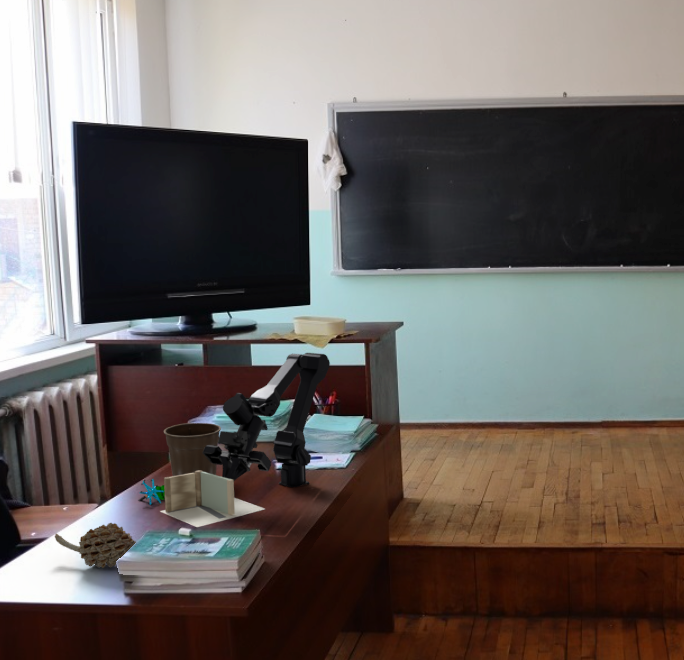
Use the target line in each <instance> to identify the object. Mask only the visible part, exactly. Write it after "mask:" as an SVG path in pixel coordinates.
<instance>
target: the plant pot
mask: <svg viewBox="0 0 684 660" xmlns="http://www.w3.org/2000/svg"><path fill="white" fill-rule="evenodd" d="M220 431H222V427H221V426H220V425H219V424H214V423H208V422H189V423H188V422H187V423H180V424H175V425H172V426H169V427H166V428H165V429H164V430H163V434H164V435H165V439H166V445H167V446H168V452H169V460H170V467H171V473H172V476H178V475H183V474H189V473H195V471H198V470H201V471H203V472H206V473H210V474H213V475H217V466H218V465H216V464H212V463H211V462H210V461H209V460H208V459H207V458H206V457H205V455H204V454H203V453H202V452H203V450H204V448H205V447H206V446H207V445H212V446H218V444H219V443H218V440H219V436H220ZM195 488H196V486H195Z"/></svg>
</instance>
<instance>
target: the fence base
mask: <svg viewBox="0 0 684 660" xmlns="http://www.w3.org/2000/svg"><path fill="white" fill-rule="evenodd" d="M201 472H203V471H201V470H198V471H195V473H189V474H183V475H178V476H173V475H172V476H166V477H163V485H164V489H165V499H164V506H165V507H164V510H165V511H166V512H171V511H175V510H180V509H185V508H190V507H195V506H202V497H201ZM195 486H196V488H195Z"/></svg>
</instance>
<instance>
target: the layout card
mask: <svg viewBox="0 0 684 660" xmlns="http://www.w3.org/2000/svg"><path fill="white" fill-rule="evenodd" d="M234 509H235V514H233V515H230V514H228V513H224V512H221V511H218V510H215V509H212V508H209V507H205V506H195V507H190V508H185V509H180V510H175V511H171V512H166V511H165V509H163V510H159V512H160V513H162V514H165V515H167V516H169V517H172V518H173V519H176V520H178V521H181V522H183V523H186V524H189V526H190V525H191V526H193V527H196V528H200V527H203V526H208V525H212V524H215V523H219V522H223V521H226V520H227V521H228V520H231V519H234V518H237V517H238V518H239V517H241V516H246V515H248V514H254V513H256V512H260V511H263V510H265V508H264V507H262V506H259V505H256V504H253V503H250V502H247V501H245V500H242V499H240V498H237V497H234Z"/></svg>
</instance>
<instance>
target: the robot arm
mask: <svg viewBox="0 0 684 660" xmlns="http://www.w3.org/2000/svg"><path fill="white" fill-rule="evenodd" d="M330 365H331V363H330V359H329V357H328V355H326V353H319V352H318V353H315V352H305V353H304V354H302V353H290V354H288V355H287V356H286V360H285V361H284V363H283V364H282V365H281V367H280V368H279V369H278V370H277V372H276V373H275V374H274V376H273V377H272V378H271V379H270V381H269V382H268V383H267V385H265V386H263V387H262V388H259V389H257V390H256V391H255V392H254V393H252V394H251V396H250V397H249V399H247V398H246V397H245V395H244V394H243V393H240V392H236V393H235V395H234V396H231V397H230V398H228V399H227V400H226V401H224V404H223V405H222V411H223V412H224V414H225V415H226V416H227V417H228V418H229V419H230V420H231V421H232V422H233V423H234V425H237V426H238V428H237V430H236V431H233V432H232V431H223V430H220V432H219V440H218V444H221V445H224V449H225V450H222V448H221V447H220V446H218V445H217V446H212V445H207V446H206V447H205V448H204V450H203V452H202V453H203V454H204V455H205V457H206V458H207V459H208V460H209V461H210V462H211V463H212V464H216V465H217V466H222V474H221V475H222V476H221V477H224V478H228V479H233V480H234V482H235V481H237V480H238V479H239V478H240V477H241V476H243V475H244V474H246V473H249V472H251V465H253V464H256V465H257V469H258V471H261V472H269V471H270V469H271V466H272V461H271V460H270V458H269V456H268V455H266V453H265V452H264V451H260V450H253V449H257V448H258V443H257V440H258V438H259V436H260V433H261V432H262V431H267V430H268V425H267V422H266V420H265V419H262V417H265V418H272V417H273V416H274V415H275V414H276V412H277V410H278V409H279V407H280V405H281V397H282V395H283V394H285V392H286V391H287V389H288V388H289V386H290V385H291V384H292V382H293V381H294V379H295V378H296V377H297V376H298V375H299V378H300V381H299V385H298V388H297V392H296V394H295V398H294V401H293V404H292V408H291V411H290V413H289V418H288V421H287V424H286V427H284V429H283V430H277V432H276V435H275V439H274V441H273V449H272V450H273V453H274V456H275V459H276V460H275V461H276V462H277V463H278V464H281V469H280V481H279V482H278V485H281V486H284V487H287V488H298V487H302V486H306V485H309V484H310V481H308V480H307V479H306V478H307V476H306V475H307V473H306V469H307V467H306V466H308V464H311V459H312V455H311V454H310V453H309V451H308V450H306V448H305V446H306V442H307V441H306V439H305V434H304V430H305V427H306V423H307V421H308V417H309V413H310V410H311V407H312V403H313V401H314V398H315V393H316V390H317V387H318V385H319V384H320V383H321V382H322V381H323V380H324V379H325V378H326V376H327V374H328V371H329V368H330ZM277 463H276V464H277Z"/></svg>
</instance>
